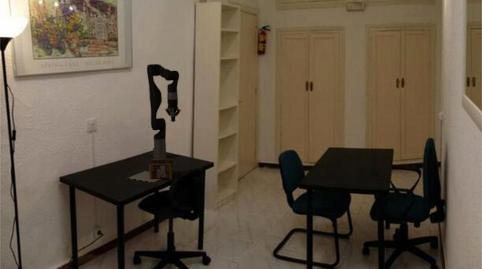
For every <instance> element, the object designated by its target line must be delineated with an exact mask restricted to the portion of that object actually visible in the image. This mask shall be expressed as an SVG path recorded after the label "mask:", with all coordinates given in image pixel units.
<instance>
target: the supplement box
mask: <svg viewBox="0 0 482 269" xmlns="http://www.w3.org/2000/svg"><path fill="white" fill-rule="evenodd" d="M173 162H174V160H173V158H166V159H154V158H151V159H150V163H149V165H148V170H149V171H148V172H149V175H150V179H161V180H171V179H173V175H174V163H173Z"/></svg>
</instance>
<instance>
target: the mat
mask: <svg viewBox="0 0 482 269" xmlns="http://www.w3.org/2000/svg"><path fill="white" fill-rule="evenodd" d="M128 178H130V180H133V179H136V180H135V181H139V180H142V181H141V182H145V181H148V182H147V183H150V182H154V183H157V182H159V181H161V180H162V179H150V175H149V171H147V170H145V171H142V172H140V173H139V172H138V173H137V174H134V175H132V176H129V177H128ZM158 180H159V181H158ZM156 181H157V182H156Z"/></svg>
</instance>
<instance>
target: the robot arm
mask: <svg viewBox="0 0 482 269" xmlns="http://www.w3.org/2000/svg"><path fill="white" fill-rule="evenodd" d="M146 74H147V80H148V91H149V93H148V94H149V104H150V106H149V107H150V125H151V126H150V127H151V129H152V131H157V132H155V134H153V148H152V152H153V159H167V143H166V142H167V141H166V140H167V139H166V135H167V122H166V119H165V118H164V117H158V118H157V114H158V111H159V109H160V107H161V105H162V103H163V99H162V98H163V97H162V91H161V90H160V88H159V87H158V86H157V84H156V83H155V79H154V77H159V76H160V78H162V79H164V80H165V81H167V82H169V81H171V83H168V84H167V86H166V90H167V94H166V95H167V97H166V99H167V107H166V108H165V109H164V110H165V112H166V114H167V115H168V116H169V117H170V121H171V123H175V122H176V117H178V116H179V114H180V112H181V111H182V110H181V109H180V108H179V101H178V100H179V97H178V96H179V95H178V82H179V79H180V73H179V71H178V70H170V69H168V68H165V67H164V66H162V65H161V64H159V63H153V64H147V66H146Z"/></svg>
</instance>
